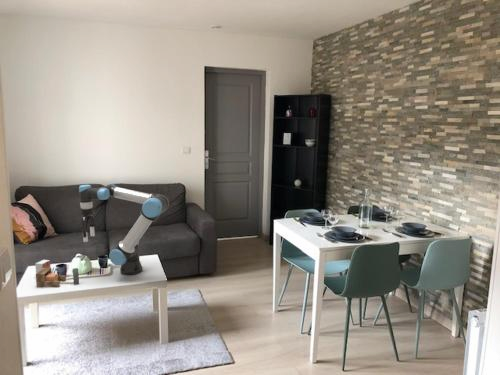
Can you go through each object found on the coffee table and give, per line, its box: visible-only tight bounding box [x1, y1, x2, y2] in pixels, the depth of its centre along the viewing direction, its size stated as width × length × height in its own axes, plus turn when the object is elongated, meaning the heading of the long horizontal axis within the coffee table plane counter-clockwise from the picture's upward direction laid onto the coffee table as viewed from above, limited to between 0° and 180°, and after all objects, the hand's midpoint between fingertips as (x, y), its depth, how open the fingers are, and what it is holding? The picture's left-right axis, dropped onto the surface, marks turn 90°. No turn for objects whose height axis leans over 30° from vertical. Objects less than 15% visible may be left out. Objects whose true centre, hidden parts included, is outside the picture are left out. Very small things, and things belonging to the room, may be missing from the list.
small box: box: [34, 259, 52, 274], centre depth 282 cm, size 8×6×10 cm
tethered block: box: [45, 267, 80, 285], centre depth 269 cm, size 21×6×10 cm, turn 91°
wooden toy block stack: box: [35, 267, 67, 288], centre depth 269 cm, size 14×11×9 cm
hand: (89, 238), depth 279 cm, fingers open, 13 cm apart
